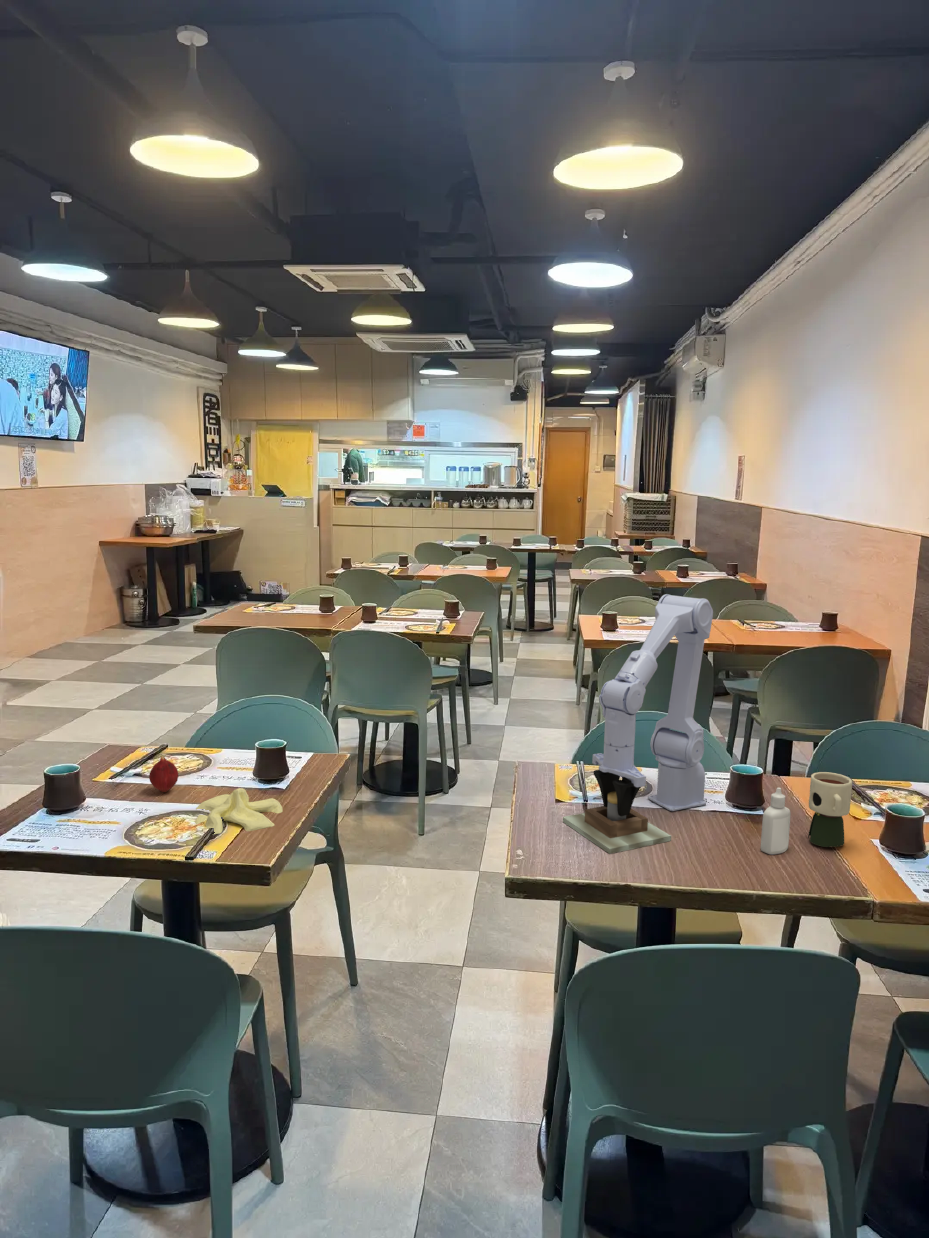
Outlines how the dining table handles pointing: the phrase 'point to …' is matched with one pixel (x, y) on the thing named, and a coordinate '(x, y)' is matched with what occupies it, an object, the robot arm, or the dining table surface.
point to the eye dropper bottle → (775, 825)
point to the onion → (163, 775)
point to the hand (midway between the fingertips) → (616, 810)
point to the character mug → (829, 808)
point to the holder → (616, 830)
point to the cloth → (238, 811)
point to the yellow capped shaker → (613, 808)
